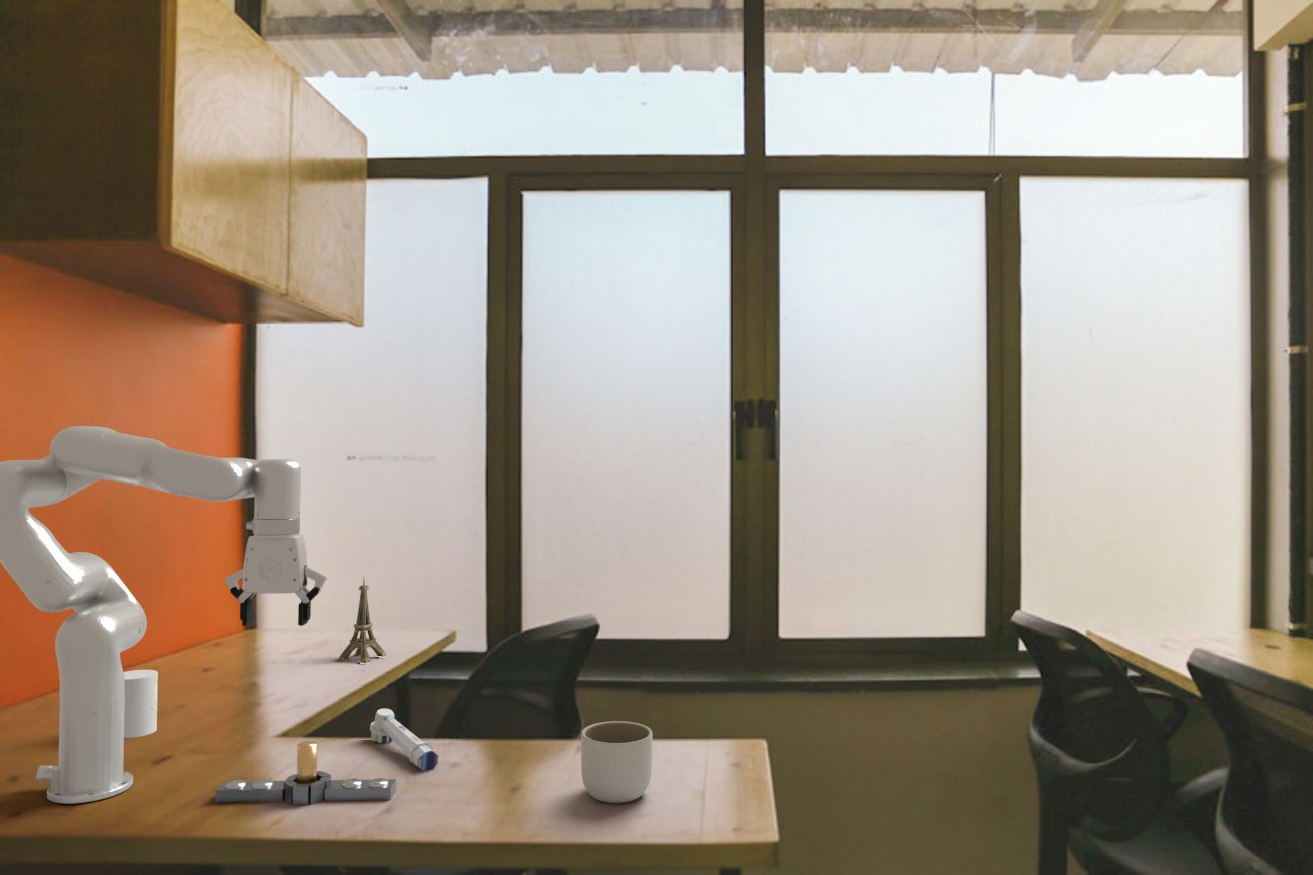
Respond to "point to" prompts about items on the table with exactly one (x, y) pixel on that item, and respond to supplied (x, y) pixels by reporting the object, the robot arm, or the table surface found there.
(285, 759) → the table surface
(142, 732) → the cup
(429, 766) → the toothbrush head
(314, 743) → the pin
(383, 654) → the eiffel tower
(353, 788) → the studded octagon ring bar
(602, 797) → the planter
